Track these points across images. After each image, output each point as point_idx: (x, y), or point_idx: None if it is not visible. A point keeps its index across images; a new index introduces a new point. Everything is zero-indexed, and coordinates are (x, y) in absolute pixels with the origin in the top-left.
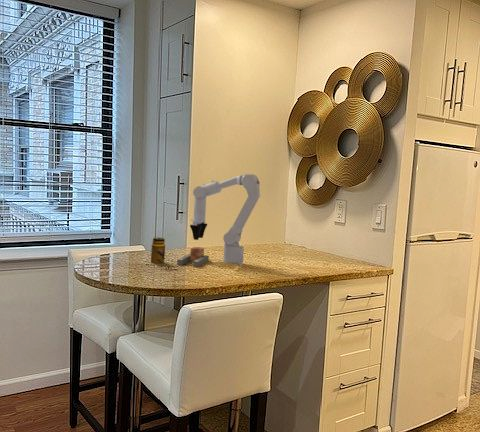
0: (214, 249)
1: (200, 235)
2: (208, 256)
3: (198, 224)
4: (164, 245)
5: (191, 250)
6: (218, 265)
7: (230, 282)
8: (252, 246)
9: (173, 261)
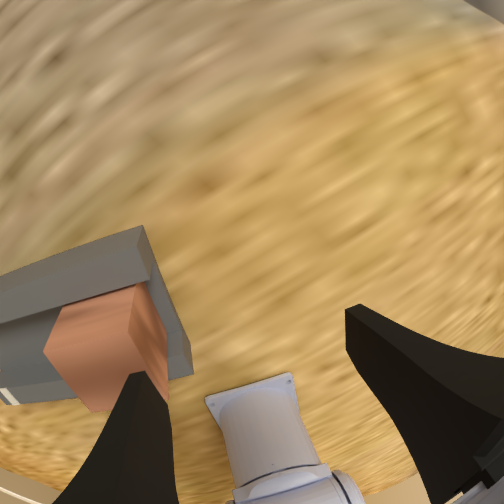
0: None
1: (362, 350)
2: (184, 372)
3: (474, 450)
4: None
5: (51, 343)
6: None
7: (24, 470)
8: None
9: (13, 183)
